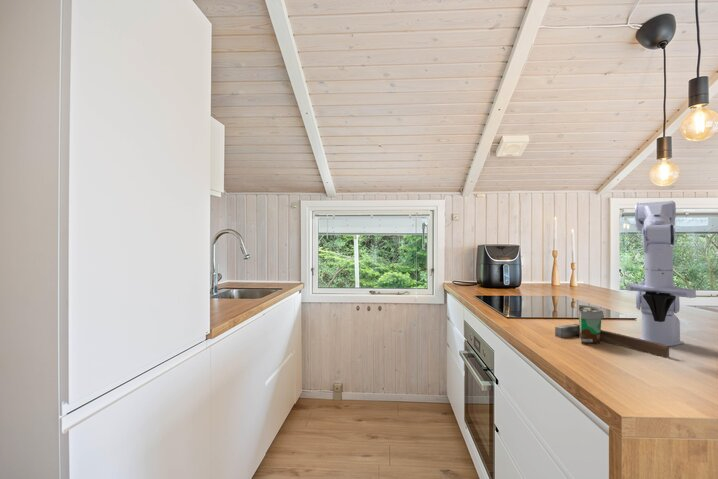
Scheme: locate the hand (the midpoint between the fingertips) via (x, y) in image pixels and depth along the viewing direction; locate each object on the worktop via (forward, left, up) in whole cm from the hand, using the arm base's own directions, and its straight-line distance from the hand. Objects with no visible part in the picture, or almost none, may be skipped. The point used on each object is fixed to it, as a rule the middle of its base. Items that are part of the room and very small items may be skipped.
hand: (659, 321), depth 91 cm
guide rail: (+3, -12, -9) cm, 15 cm away
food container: (+2, -16, -10) cm, 19 cm away
